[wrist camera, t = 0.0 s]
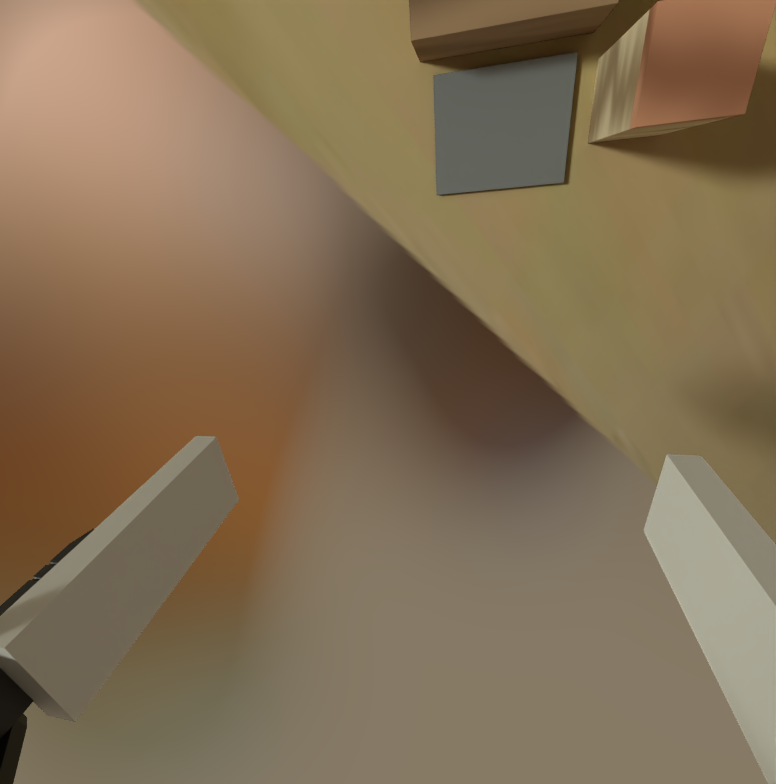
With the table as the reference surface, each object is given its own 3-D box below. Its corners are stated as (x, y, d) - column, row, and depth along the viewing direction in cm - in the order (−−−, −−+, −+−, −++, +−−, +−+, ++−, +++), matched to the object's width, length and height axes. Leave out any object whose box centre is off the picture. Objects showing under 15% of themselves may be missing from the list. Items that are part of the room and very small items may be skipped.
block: (598, 59, 27) (657, 1, 18) (679, 46, 26) (783, -22, 17) (587, 143, 29) (636, 127, 21) (661, 134, 28) (745, 113, 20)
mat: (434, 76, 29) (433, 75, 29) (576, 53, 27) (577, 51, 27) (437, 194, 33) (436, 194, 32) (562, 182, 31) (563, 182, 30)
